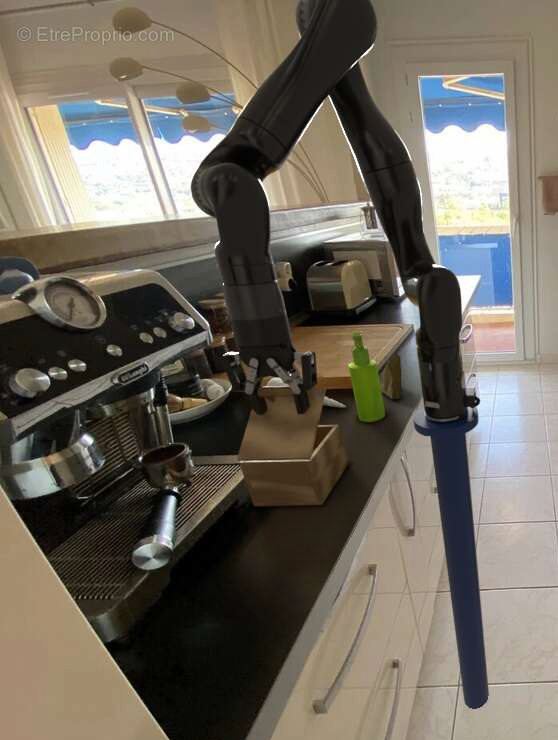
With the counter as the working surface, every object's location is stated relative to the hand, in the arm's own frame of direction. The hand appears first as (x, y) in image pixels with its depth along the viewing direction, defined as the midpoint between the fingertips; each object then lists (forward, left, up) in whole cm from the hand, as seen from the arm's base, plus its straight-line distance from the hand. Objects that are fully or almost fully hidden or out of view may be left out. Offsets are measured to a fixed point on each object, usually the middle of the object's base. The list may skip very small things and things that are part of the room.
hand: (282, 412), depth 74 cm
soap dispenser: (-4, -27, -15) cm, 31 cm away
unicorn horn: (+15, -36, -15) cm, 42 cm away
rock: (-5, -40, -15) cm, 43 cm away
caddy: (0, 0, -15) cm, 15 cm away
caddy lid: (0, 0, -2) cm, 2 cm away
